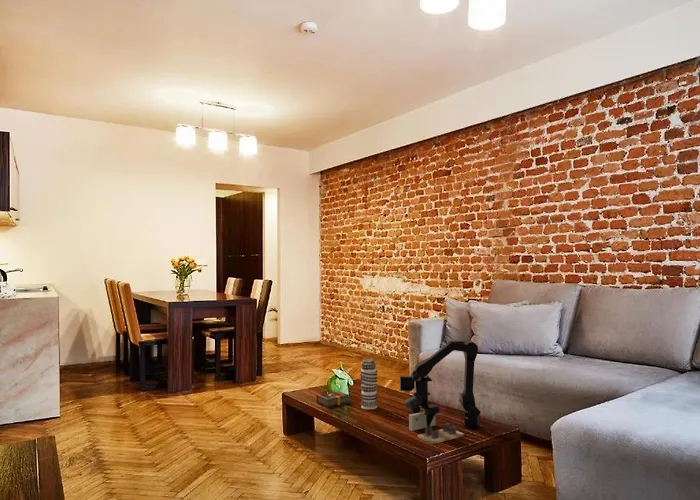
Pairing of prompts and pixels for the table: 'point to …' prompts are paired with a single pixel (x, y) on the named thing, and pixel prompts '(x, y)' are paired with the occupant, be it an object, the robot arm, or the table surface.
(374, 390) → the tower model
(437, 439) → the hinge base
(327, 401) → the decorative book
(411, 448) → the table surface
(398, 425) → the table surface
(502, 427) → the table surface
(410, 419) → the door panel
